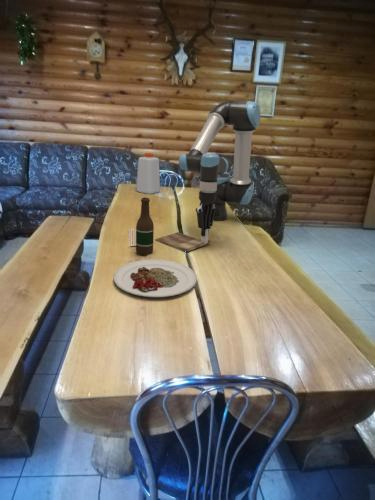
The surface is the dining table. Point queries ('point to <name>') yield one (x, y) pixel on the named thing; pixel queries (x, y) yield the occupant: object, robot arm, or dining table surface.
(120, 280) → the plated food
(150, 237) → the beer bottle
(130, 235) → the newspaper
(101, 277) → the dining table surface
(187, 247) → the plank
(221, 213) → the robot arm
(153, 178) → the white thread spool
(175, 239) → the floor panel
